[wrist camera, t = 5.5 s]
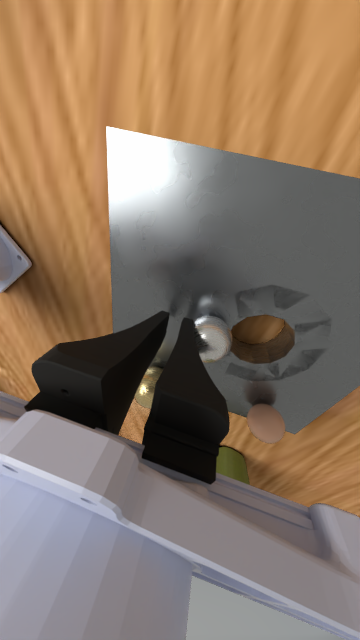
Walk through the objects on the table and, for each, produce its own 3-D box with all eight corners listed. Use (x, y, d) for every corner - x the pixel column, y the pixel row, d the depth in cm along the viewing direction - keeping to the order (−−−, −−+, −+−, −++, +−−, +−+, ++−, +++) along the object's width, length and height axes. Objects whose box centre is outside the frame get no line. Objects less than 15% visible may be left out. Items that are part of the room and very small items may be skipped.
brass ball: (136, 362, 17) (116, 393, 14) (164, 354, 16) (150, 387, 13) (154, 385, 18) (140, 418, 15) (182, 381, 17) (173, 416, 14)
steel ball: (179, 316, 13) (173, 344, 10) (219, 300, 12) (224, 327, 9) (197, 346, 14) (196, 377, 11) (235, 334, 13) (243, 366, 10)
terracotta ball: (241, 398, 16) (244, 431, 14) (275, 394, 15) (285, 430, 12) (250, 416, 17) (254, 450, 15) (283, 414, 16) (293, 451, 13)
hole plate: (125, 356, 21) (114, 371, 19) (130, 144, 10) (106, 126, 8) (287, 410, 19) (294, 434, 17) (491, 221, 9) (575, 223, 7)
